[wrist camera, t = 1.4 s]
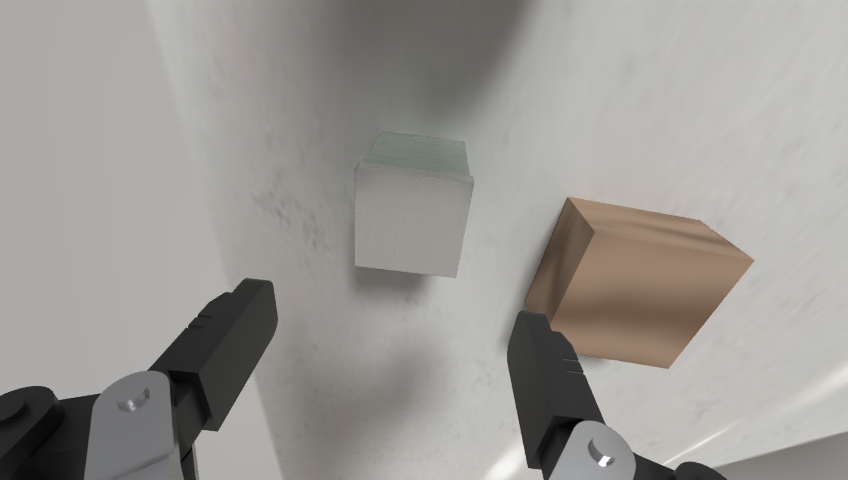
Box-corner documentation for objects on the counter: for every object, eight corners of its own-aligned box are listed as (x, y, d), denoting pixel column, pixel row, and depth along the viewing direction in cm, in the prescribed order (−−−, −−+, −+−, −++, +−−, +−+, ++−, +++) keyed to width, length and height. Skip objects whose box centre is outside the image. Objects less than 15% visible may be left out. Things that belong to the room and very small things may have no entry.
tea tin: (381, 129, 21) (354, 167, 15) (466, 140, 21) (474, 182, 15) (378, 206, 24) (354, 265, 18) (453, 215, 24) (455, 277, 18)
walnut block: (566, 195, 23) (594, 231, 18) (697, 218, 23) (754, 260, 19) (524, 298, 27) (538, 347, 23) (633, 317, 28) (668, 368, 23)
